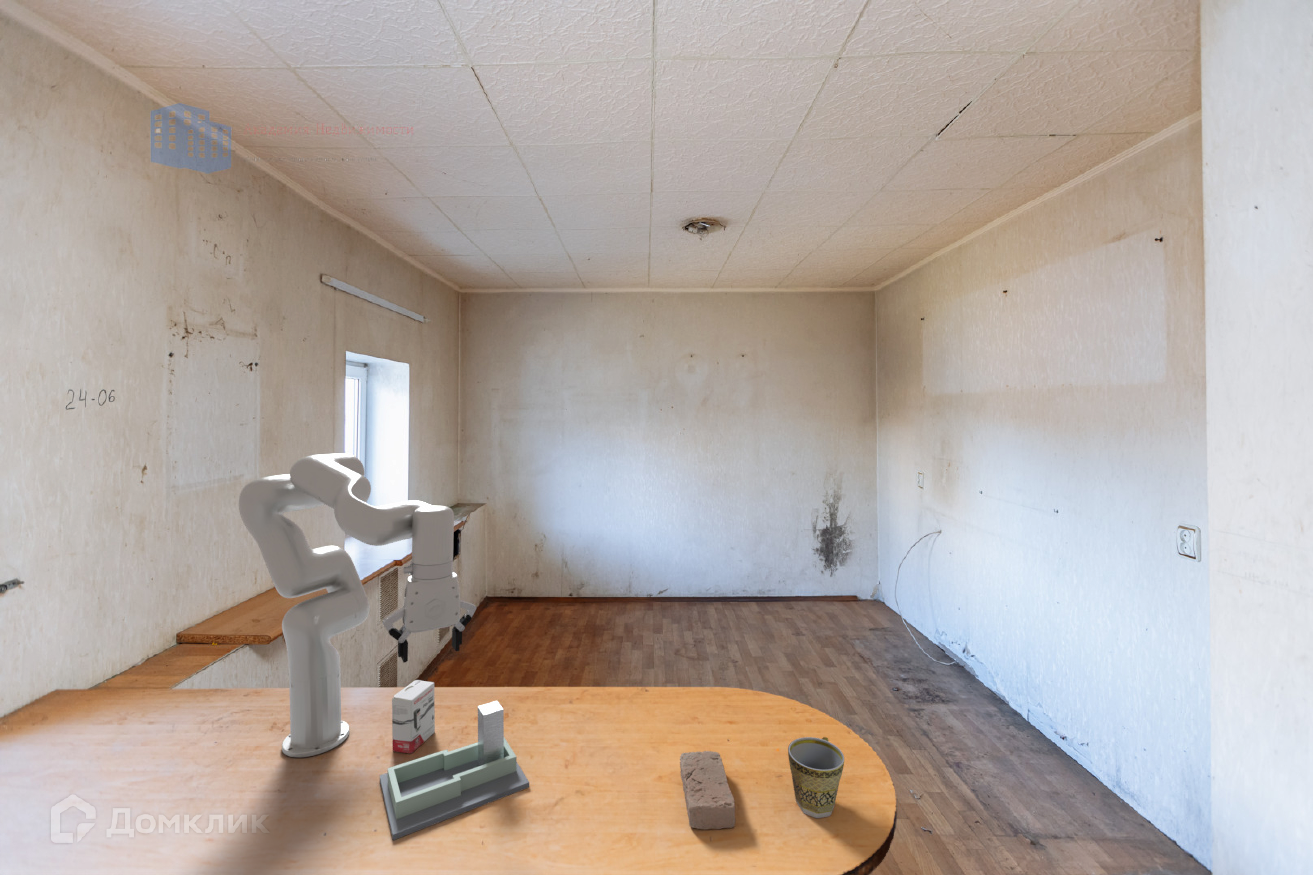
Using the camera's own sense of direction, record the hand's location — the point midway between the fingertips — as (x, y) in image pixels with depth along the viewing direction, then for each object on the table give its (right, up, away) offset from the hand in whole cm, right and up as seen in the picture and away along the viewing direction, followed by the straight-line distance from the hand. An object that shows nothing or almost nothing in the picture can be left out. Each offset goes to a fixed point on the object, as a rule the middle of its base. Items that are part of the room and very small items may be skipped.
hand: (430, 653), depth 107 cm
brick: (+54, -26, -5) cm, 60 cm away
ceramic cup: (+75, -26, -6) cm, 80 cm away
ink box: (-9, -24, +12) cm, 28 cm away
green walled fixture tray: (+5, -25, -2) cm, 25 cm away
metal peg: (+11, -24, +2) cm, 26 cm away
